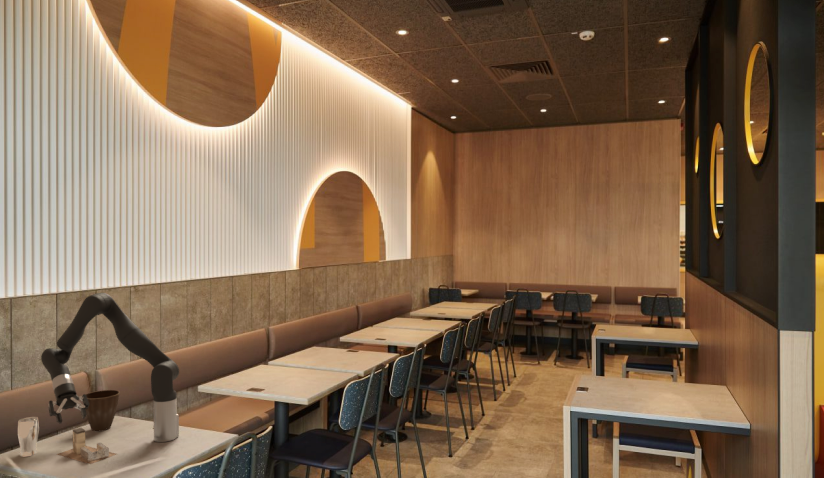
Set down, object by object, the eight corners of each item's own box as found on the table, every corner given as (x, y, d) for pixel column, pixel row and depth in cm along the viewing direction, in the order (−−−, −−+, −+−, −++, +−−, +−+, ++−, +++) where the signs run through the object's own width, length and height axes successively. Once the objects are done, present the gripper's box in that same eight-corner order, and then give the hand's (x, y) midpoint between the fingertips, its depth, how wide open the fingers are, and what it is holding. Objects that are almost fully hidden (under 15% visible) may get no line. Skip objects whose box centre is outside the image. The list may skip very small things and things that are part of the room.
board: (83, 447, 230) (83, 445, 230) (117, 456, 220) (117, 453, 220) (56, 457, 220) (56, 454, 220) (90, 467, 210) (90, 464, 210)
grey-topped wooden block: (72, 451, 223) (72, 429, 223) (81, 449, 225) (81, 427, 225) (77, 454, 219) (76, 432, 219) (85, 452, 221) (85, 430, 221)
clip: (80, 456, 218) (80, 447, 218) (100, 450, 223) (100, 442, 223) (88, 462, 212) (88, 453, 212) (108, 456, 217) (108, 448, 217)
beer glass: (28, 460, 217) (27, 422, 217) (13, 459, 218) (13, 421, 218) (43, 453, 224) (43, 417, 224) (28, 452, 225) (28, 416, 225)
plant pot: (98, 422, 262) (98, 389, 262) (127, 423, 260) (126, 390, 260) (74, 433, 247) (74, 398, 247) (105, 435, 245) (104, 399, 245)
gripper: (46, 385, 228) (54, 419, 220) (84, 379, 239) (93, 410, 231) (42, 396, 232) (51, 429, 224) (80, 389, 242) (89, 420, 234)
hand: (72, 419), depth 227 cm, fingers open, 8 cm apart
